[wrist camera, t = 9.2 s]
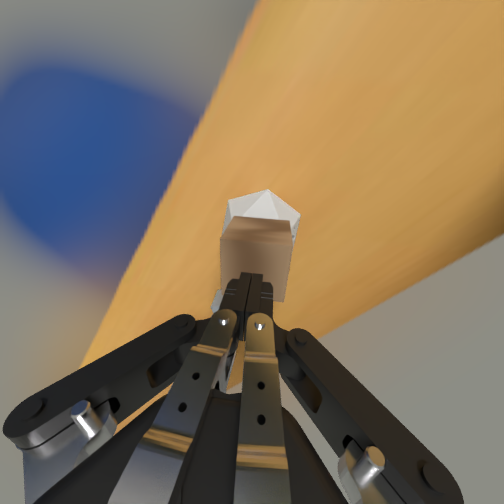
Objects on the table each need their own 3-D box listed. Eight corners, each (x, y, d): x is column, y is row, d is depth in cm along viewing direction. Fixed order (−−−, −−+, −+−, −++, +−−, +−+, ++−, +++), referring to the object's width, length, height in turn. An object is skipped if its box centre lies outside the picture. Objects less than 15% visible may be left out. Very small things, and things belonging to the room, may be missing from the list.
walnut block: (289, 220, 18) (293, 245, 14) (282, 268, 20) (283, 302, 16) (233, 215, 18) (219, 238, 14) (233, 262, 21) (221, 295, 16)
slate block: (241, 285, 32) (236, 303, 28) (248, 304, 34) (245, 323, 30) (217, 289, 33) (210, 307, 29) (226, 307, 34) (220, 326, 31)
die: (262, 257, 30) (309, 280, 22) (204, 252, 25) (236, 277, 17) (274, 201, 29) (328, 202, 20) (215, 185, 24) (255, 178, 16)
